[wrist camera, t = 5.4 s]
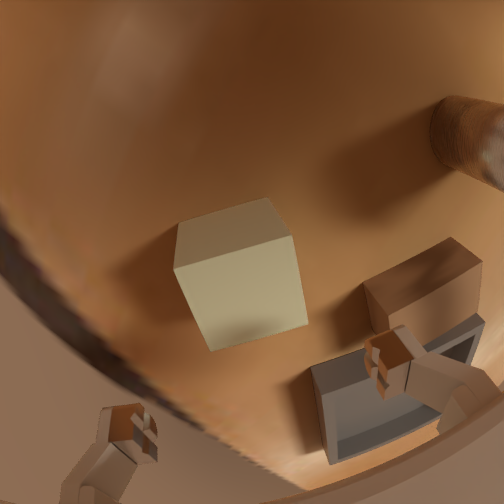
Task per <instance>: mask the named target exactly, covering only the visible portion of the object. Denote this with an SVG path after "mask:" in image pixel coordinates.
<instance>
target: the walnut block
mask: <svg viewBox="0 0 504 504" xmlns="http://www.w3.org/2000/svg"><path fill="white" fill-rule="evenodd" d="M482 262H483V261H482V260H480V259H479V258H478V257H477V256H475V255H474V254H473V253H472V252H470V251H469V250H468V249H466V248H465V247H464V246H462V245H461V244H460V243H458V242H457V241H456V240H454V239H453V238H452V237H450V238H448V239H446V240H444V241H442V242H440V243H439V244H437V245H435V246H433V247H431V248H429V249H427V250H426V251H424V252H422V253H420V254H418V255H416V256H414V257H412V258H410V259H408V260H406V261H404V262H403V263H401V264H399V265H397V266H395V267H393V268H391V269H389V270H387V271H385V272H383V273H381V274H379V275H377V276H375V277H372V278H370V279H368V280H366V281H364V282H363V286H364V291H365V295H366V300H367V305H368V310H369V315H370V320H371V325H372V329H373V331H374V332H375V334H376V335H378V334H380V333H382V332H385V331H387V330H390V329H392V328H395V327H397V326H400V325H402V324H403V325H405V326H406V327H407V328H408V329H409V331H410V332H411V333H412V334H413V335H414V337H415V338H416V339H417V340H418V342H419V343H420V344H421V345H422V346H424V345H425V344H427V343H429V342H430V341H432V340H434V339H435V338H437V337H439V336H440V335H442V334H444V333H445V332H447V331H449V330H450V329H452V328H453V327H455V326H456V325H458V324H460V323H461V322H463V321H464V320H466V319H467V318H469V317H470V316H472V315H473V314H475V313H476V312H477V311H478V304H479V296H480V286H481V275H482Z"/></svg>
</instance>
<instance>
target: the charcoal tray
mask: <svg viewBox="0 0 504 504" xmlns="http://www.w3.org/2000/svg"><path fill="white" fill-rule="evenodd" d="M484 325H485V321H484V320H483V319H482V318H481V317H480V316H479V315H478V314H477V313H475V314H473V315H472V316H470V317H469V318H467V319H466V320H464V321H463V322H461V323H460V324H458V325H456V326H455V327H453V328H452V329H450V330H449V331H447V332H445V333H444V334H442V335H440V336H439V337H437V338H435V339H434V340H432V341H430V342H429V343H427V344H425V345H424V346H422V347H423V348H424V349H425V350H426V352H427V353H428V352H430V351H431V352H434V353H437V354H439V355H442V356H445V357H448V358H451V359H453V360H456V361H459V362H462V363H464V364H467V365H471V362H472V360H473V357H474V354H475V352H476V349H477V346H478V343H479V340H480V337H481V334H482V331H483V328H484ZM366 352H367V351H366V349H365V348H364V349H361V350H358V351H356V352H353V353H350V354H347V355H344V356H342V357H339V358H336V359H333V360H330V361H327V362H324V363H321V364H318V365H315V366H312V367H310V368H311V374H312V380H313V386H314V392H315V398H316V405H317V411H318V418H319V424H320V431H321V437H322V444H323V448H324V451H325V453H326V456H327V459H328V462H329V465H333V464H336V463H339V462H342V461H344V460H347V459H350V458H353V457H356V456H358V455H361V454H363V453H366V452H368V451H371V450H373V449H376V448H378V447H381V446H383V445H385V444H388V443H390V442H392V441H395V440H397V439H399V438H401V437H403V436H405V435H408V434H410V433H412V432H414V431H416V430H418V429H420V428H422V427H424V426H426V425H428V424H430V423H432V422H434V421H435V420H437V419H439V418H441V416H442V413H440V412H438V411H436V410H435V409H433V408H431V407H429V406H427V405H425V404H424V403H422V402H420V401H418V400H416V399H414V398H413V397H411V396H409V395H407V394H406V393H405V392H403V393H401V394H399V395H397V396H394V397H392V398H390V399H387V400H385V401H384V400H383V398H382V397H381V395H380V393H379V392H378V390H377V388H376V384H377V381H375V380H373V379H371V378H370V376H369V374H368V372H367V370H366V366H365V362H364V355H365V353H366Z"/></svg>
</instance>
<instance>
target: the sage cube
mask: <svg viewBox="0 0 504 504" xmlns="http://www.w3.org/2000/svg"><path fill="white" fill-rule="evenodd" d="M173 270H174V273H175V275H176V277H177V280H178V282H179V284H180V286H181V289H182V291H183V293H184V296H185V298H186V300H187V302H188V305H189V307H190V309H191V311H192V313H193V316H194V318H195V320H196V322H197V324H198V326H199V329H200V331H201V333H202V335H203V337H204V339H205V341H206V343H207V346H208V348H209V350H210V352H212V351H216V350H220V349H224V348H228V347H231V346H235V345H239V344H242V343H246V342H250V341H253V340H257V339H260V338H264V337H267V336H271V335H274V334H277V333H281V332H284V331H287V330H291V329H294V328H297V327H300V326H304V325H307V324H308V318H307V312H306V307H305V301H304V295H303V290H302V284H301V279H300V274H299V268H298V263H297V258H296V253H295V248H294V243H293V237H292V234H291V233H290V231H289V229H288V228H287V226H286V225H285V223H284V222H283V220H282V218H281V217H280V215H279V214H278V212H277V211H276V209H275V207H274V206H273V204H272V203H271V201H270V200H269V198H268V197H265V198H261V199H258V200H254V201H251V202H247V203H244V204H240V205H237V206H233V207H230V208H226V209H223V210H219V211H216V212H212V213H209V214H206V215H202V216H199V217H196V218H192V219H189V220H186V221H183V222H179V224H178V232H177V240H176V248H175V257H174V266H173Z"/></svg>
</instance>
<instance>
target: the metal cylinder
mask: <svg viewBox="0 0 504 504" xmlns="http://www.w3.org/2000/svg"><path fill="white" fill-rule="evenodd" d="M430 139H431V144H432V148H433V151H434V153H435V155H436V156H437V158H438V159H439V160H440V161H441V162H442V163H443V164H444V165H446V166H448V167H451V168H453V169H455V170H457V171H460V172H462V173H464V174H466V175H469V176H471V177H473V178H475V179H477V180H479V181H481V182H483V183H486V184H488V185H490V186H492V187H494V188H496V189H498V190H500V191H502V192H503V193H504V104H499V103H495V102H490V101H485V100H479V99H474V98H468V97H462V96H449V97H446V98H445V99H443V100H442V101H441V102H440V103H439V104H438V105H437V107H436V109H435V111H434V113H433V116H432V119H431V124H430Z"/></svg>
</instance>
